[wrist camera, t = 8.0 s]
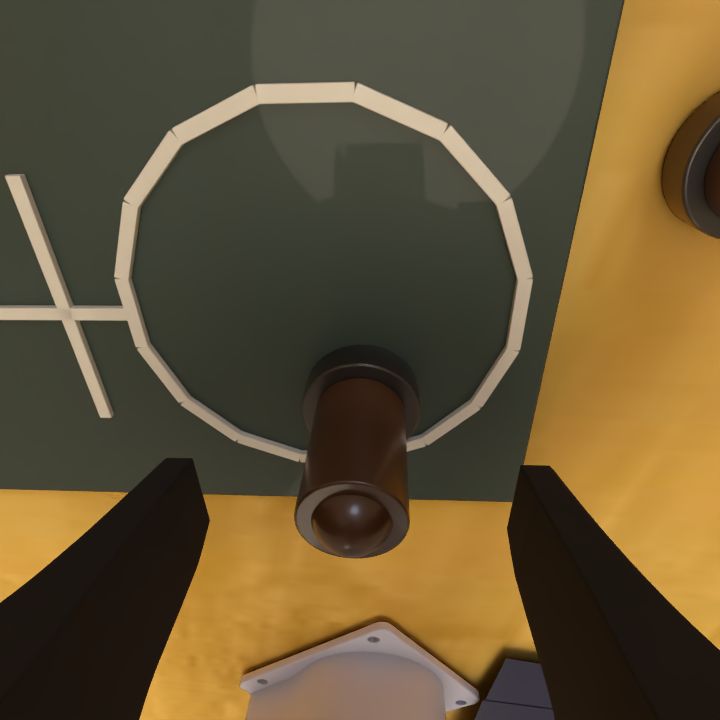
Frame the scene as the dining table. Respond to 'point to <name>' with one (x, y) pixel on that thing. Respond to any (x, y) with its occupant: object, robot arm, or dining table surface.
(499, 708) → the dark blue flat slab
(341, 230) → the slate board
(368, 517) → the stamp
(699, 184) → the stamp
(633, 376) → the dining table surface
